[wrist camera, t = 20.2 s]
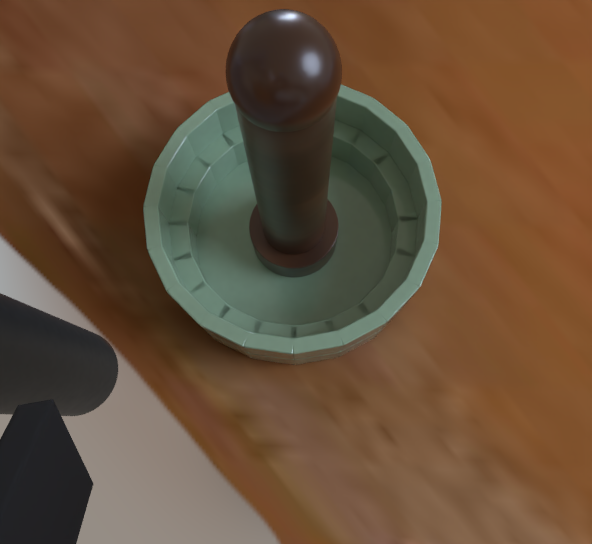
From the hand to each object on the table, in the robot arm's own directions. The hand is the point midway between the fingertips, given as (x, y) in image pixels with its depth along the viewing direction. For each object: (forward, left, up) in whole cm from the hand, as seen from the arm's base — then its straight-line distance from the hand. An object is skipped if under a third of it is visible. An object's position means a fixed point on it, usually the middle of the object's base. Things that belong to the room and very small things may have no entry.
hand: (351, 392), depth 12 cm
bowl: (0, +11, -18) cm, 21 cm away
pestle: (0, +10, -18) cm, 21 cm away
